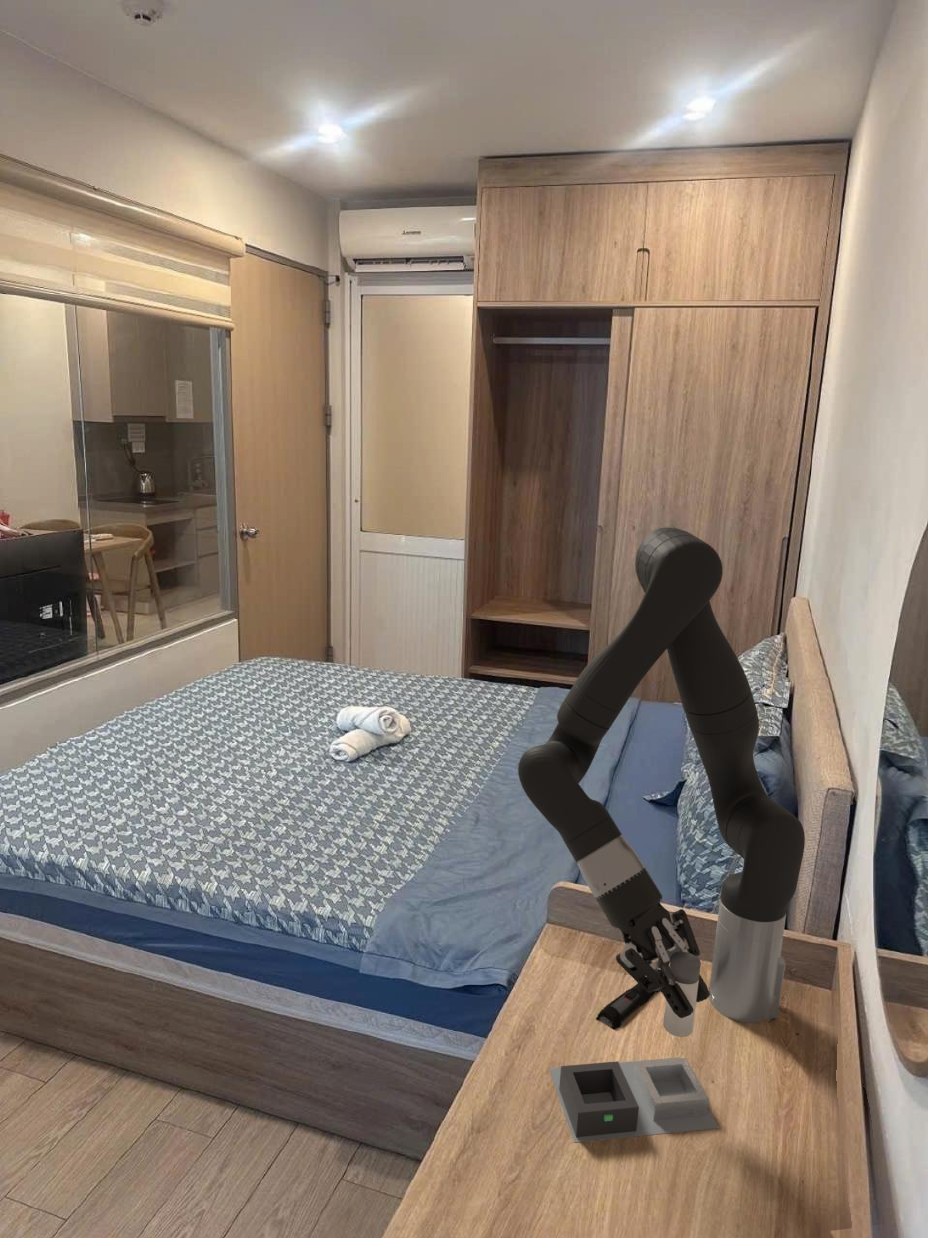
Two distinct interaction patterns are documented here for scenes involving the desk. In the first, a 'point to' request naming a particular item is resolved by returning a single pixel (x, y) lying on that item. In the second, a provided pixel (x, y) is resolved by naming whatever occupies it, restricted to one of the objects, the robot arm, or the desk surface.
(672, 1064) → the square frame
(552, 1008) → the desk surface
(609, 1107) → the port
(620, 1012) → the electric trimmer
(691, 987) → the plug
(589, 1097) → the panel
